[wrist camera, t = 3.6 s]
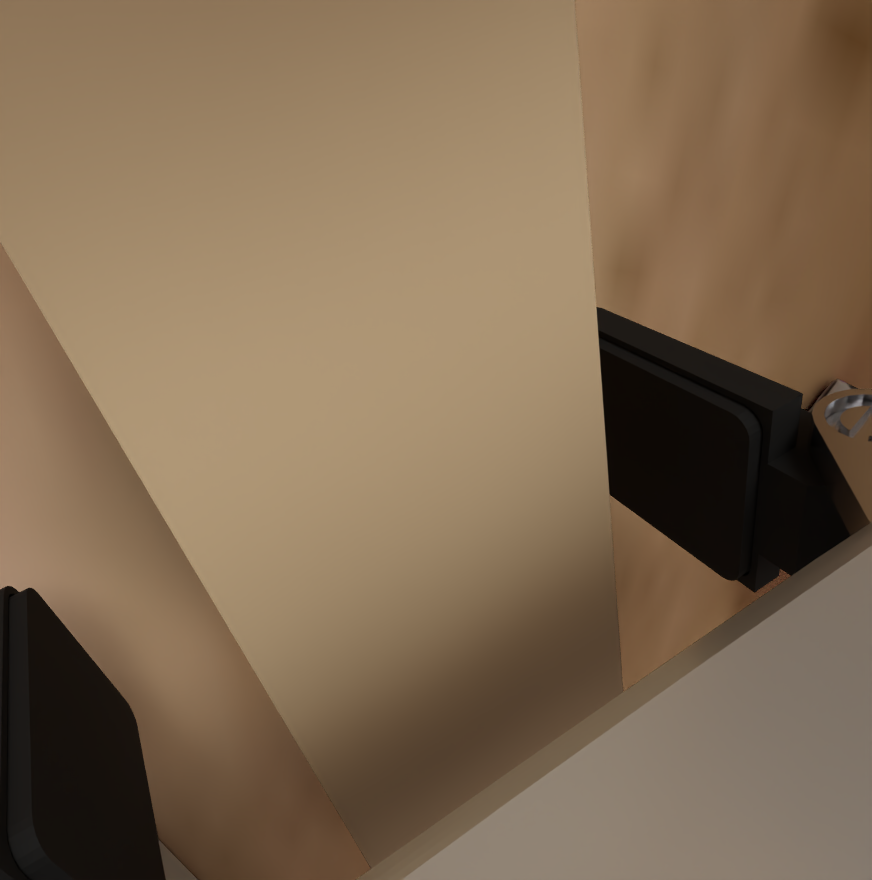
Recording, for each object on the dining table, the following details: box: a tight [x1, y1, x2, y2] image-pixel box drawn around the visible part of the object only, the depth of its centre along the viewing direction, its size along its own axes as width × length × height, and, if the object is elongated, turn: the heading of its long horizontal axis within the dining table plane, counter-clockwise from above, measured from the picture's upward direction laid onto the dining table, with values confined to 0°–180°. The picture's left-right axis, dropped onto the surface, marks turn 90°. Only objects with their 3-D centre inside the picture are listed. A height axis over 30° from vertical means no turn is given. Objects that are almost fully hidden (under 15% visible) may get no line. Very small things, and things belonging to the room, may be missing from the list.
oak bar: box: [0, 0, 623, 869], centre depth 10 cm, size 22×4×6 cm, turn 14°
